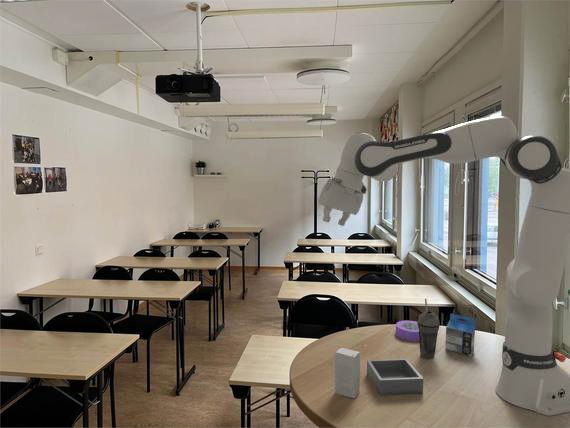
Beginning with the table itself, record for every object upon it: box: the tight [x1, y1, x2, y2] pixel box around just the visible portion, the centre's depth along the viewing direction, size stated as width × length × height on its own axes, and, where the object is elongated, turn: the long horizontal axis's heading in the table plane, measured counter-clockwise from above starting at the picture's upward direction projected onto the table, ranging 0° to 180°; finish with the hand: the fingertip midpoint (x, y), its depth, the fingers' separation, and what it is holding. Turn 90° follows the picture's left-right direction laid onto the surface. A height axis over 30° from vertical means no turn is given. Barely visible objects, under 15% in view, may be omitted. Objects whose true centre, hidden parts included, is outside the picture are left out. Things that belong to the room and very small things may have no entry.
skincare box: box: [334, 347, 361, 399], centre depth 115 cm, size 6×4×12 cm
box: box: [366, 358, 425, 397], centre depth 120 cm, size 13×13×4 cm
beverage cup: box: [416, 298, 441, 360], centre depth 138 cm, size 7×7×20 cm
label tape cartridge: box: [445, 313, 476, 357], centre depth 142 cm, size 9×4×12 cm, turn 49°
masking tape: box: [395, 320, 419, 342], centre depth 158 cm, size 12×12×4 cm
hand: (333, 223), depth 131 cm, fingers open, 8 cm apart
